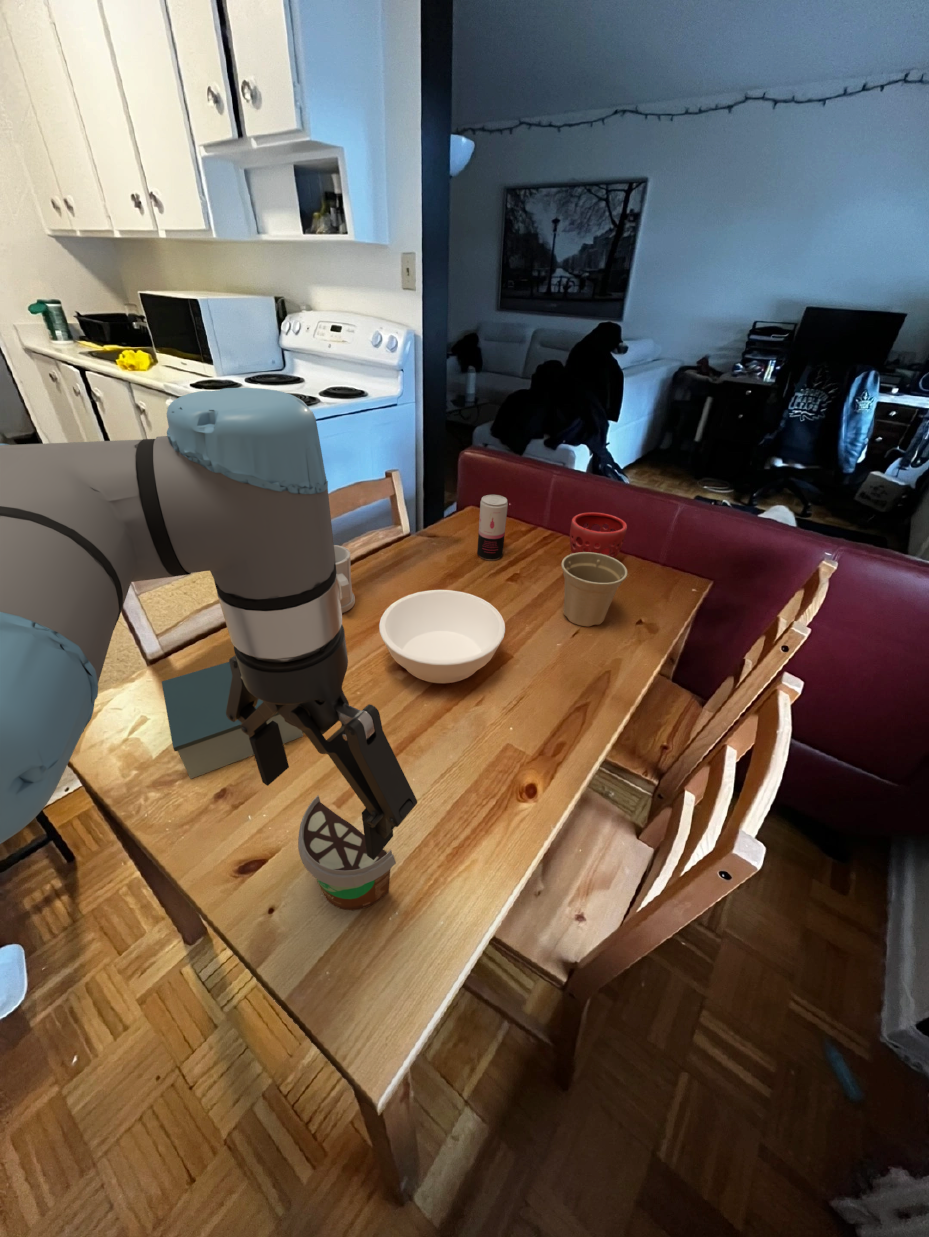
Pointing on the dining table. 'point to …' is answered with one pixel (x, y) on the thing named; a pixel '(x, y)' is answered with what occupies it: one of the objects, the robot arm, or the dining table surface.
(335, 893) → the food container
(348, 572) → the cup
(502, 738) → the dining table surface
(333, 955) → the dining table surface
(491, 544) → the beverage can
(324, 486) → the robot arm
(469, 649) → the bowl
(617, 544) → the flower pot
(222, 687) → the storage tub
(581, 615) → the flower pot
